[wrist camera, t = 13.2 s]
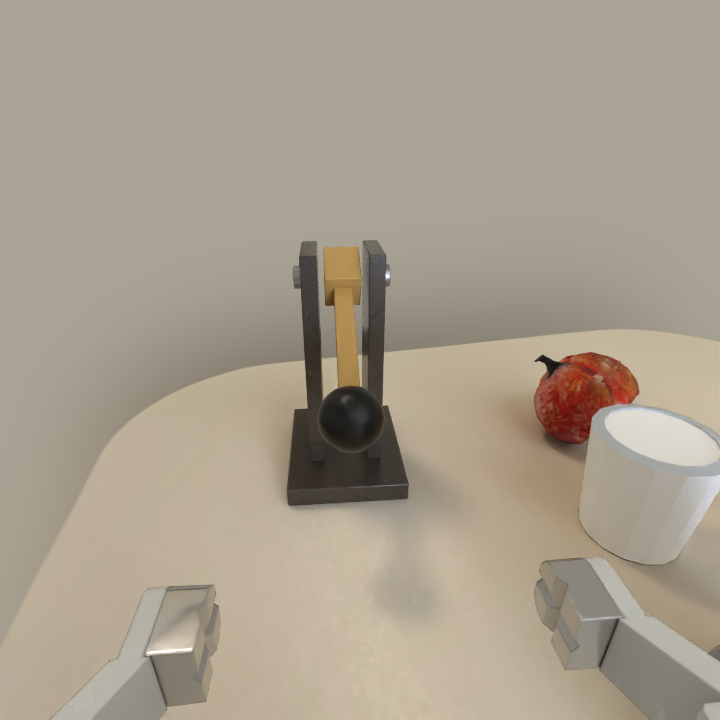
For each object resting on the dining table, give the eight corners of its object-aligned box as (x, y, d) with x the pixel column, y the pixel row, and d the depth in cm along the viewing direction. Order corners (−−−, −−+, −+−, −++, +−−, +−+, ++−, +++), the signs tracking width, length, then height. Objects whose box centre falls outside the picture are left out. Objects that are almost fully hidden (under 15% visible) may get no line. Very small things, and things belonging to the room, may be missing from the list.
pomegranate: (608, 440, 40) (529, 356, 41) (687, 405, 34) (593, 309, 36) (580, 491, 35) (492, 395, 37) (667, 460, 29) (559, 347, 31)
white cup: (634, 483, 31) (663, 397, 28) (723, 563, 25) (773, 465, 22) (546, 496, 30) (567, 408, 27) (618, 584, 24) (655, 483, 21)
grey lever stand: (408, 499, 30) (422, 265, 23) (287, 506, 29) (266, 268, 23) (387, 417, 39) (393, 232, 32) (295, 421, 38) (281, 233, 32)
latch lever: (384, 461, 23) (391, 434, 20) (319, 465, 23) (316, 437, 20) (365, 278, 30) (368, 239, 28) (315, 279, 30) (313, 240, 27)
